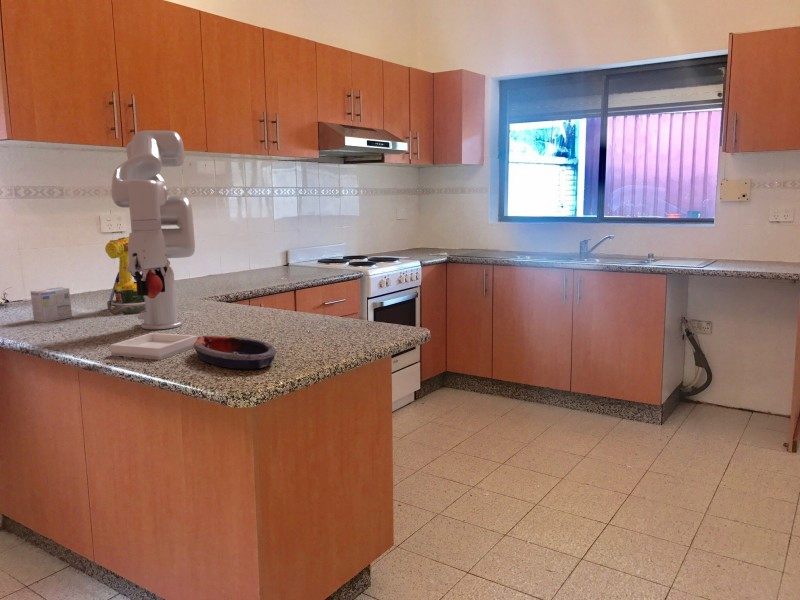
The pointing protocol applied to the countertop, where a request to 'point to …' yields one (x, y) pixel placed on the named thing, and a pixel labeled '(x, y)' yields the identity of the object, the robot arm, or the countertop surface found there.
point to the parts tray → (154, 346)
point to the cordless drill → (123, 282)
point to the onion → (153, 284)
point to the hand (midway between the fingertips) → (151, 292)
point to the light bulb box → (51, 304)
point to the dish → (234, 352)
